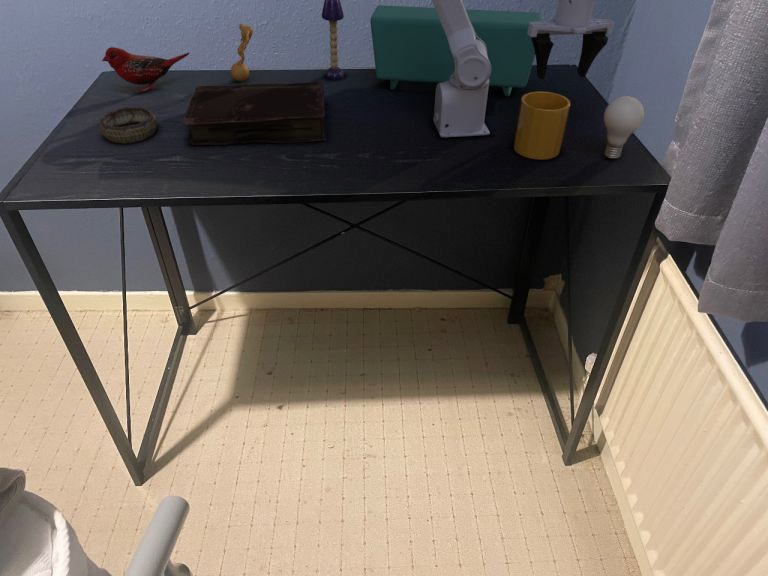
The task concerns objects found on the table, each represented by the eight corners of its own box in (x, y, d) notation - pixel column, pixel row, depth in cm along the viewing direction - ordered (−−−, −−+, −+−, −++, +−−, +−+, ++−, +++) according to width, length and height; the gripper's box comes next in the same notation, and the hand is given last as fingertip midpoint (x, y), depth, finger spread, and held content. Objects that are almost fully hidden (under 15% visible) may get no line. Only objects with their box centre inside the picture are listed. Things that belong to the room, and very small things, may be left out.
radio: (527, 82, 128) (540, 10, 118) (530, 101, 120) (543, 25, 111) (377, 73, 132) (377, 2, 122) (370, 91, 124) (369, 17, 114)
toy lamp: (349, 75, 131) (347, -4, 120) (338, 82, 128) (334, 1, 117) (332, 71, 133) (328, -8, 122) (320, 77, 130) (315, -3, 119)
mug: (568, 156, 102) (579, 107, 96) (527, 162, 100) (536, 113, 95) (538, 129, 110) (547, 83, 104) (499, 135, 108) (506, 88, 102)
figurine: (232, 74, 131) (222, 18, 123) (258, 73, 132) (251, 17, 124) (232, 88, 125) (222, 30, 117) (260, 86, 125) (252, 29, 118)
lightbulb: (631, 168, 99) (652, 106, 92) (593, 164, 100) (611, 102, 93) (627, 152, 104) (646, 92, 97) (591, 148, 105) (607, 88, 98)
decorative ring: (165, 121, 112) (113, 121, 112) (161, 105, 110) (108, 105, 110) (150, 145, 104) (95, 146, 104) (145, 128, 102) (89, 129, 102)
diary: (201, 107, 117) (196, 82, 114) (324, 102, 119) (322, 78, 116) (187, 149, 103) (181, 123, 100) (326, 143, 105) (325, 117, 102)
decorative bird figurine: (111, 96, 121) (96, 47, 115) (193, 79, 128) (183, 32, 122) (115, 101, 119) (100, 51, 113) (197, 83, 127) (188, 36, 120)
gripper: (543, 1, 91) (529, 86, 100) (630, -1, 92) (608, 82, 101) (529, -10, 96) (516, 71, 105) (611, -12, 97) (592, 68, 106)
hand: (560, 76), depth 103 cm, fingers open, 7 cm apart
